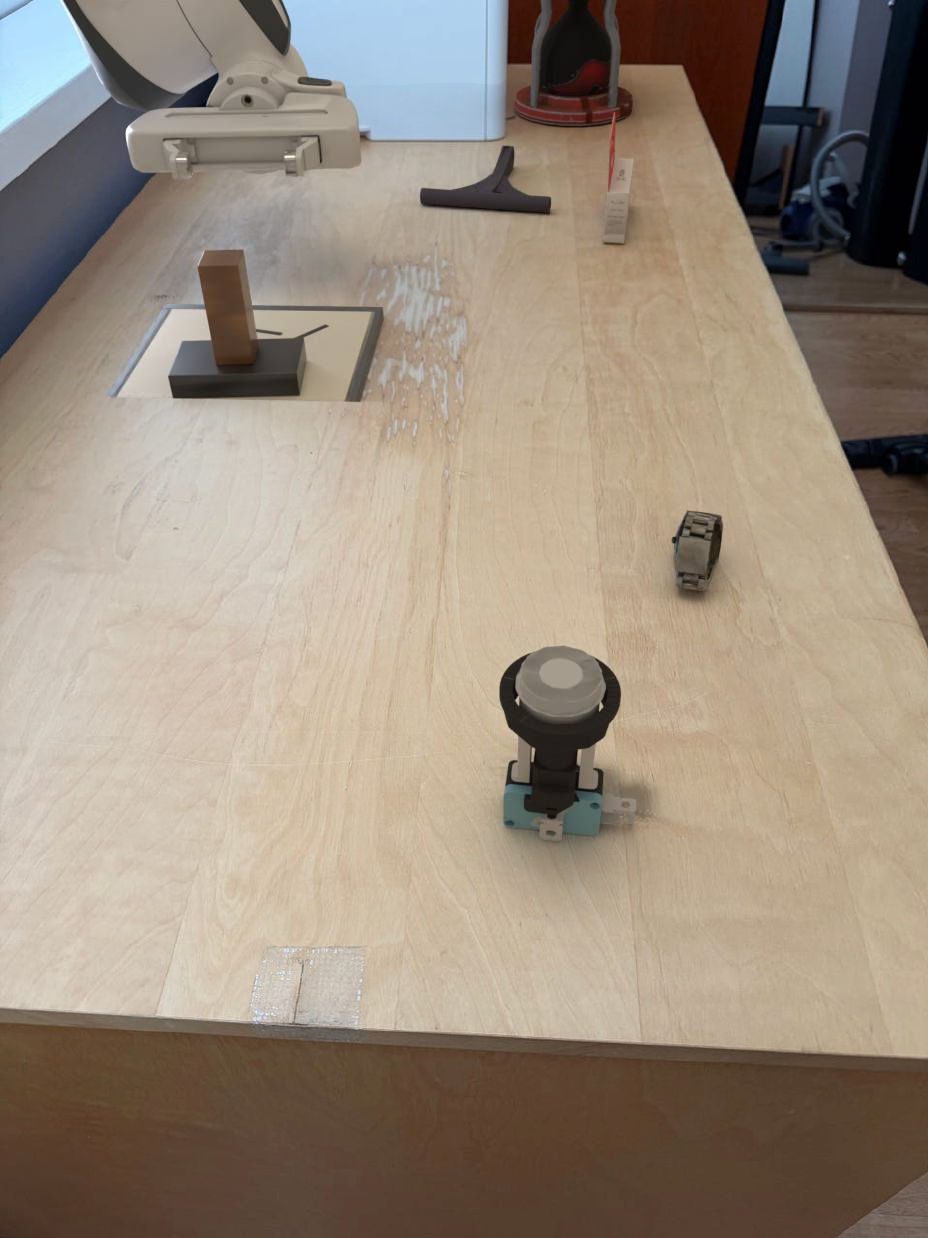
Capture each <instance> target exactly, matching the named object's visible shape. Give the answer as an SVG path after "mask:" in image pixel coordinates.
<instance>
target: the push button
mask: <svg viewBox="0 0 928 1238" xmlns="http://www.w3.org/2000/svg"><path fill="white" fill-rule="evenodd" d="M498 693H499V694H498V697H499V704H500V706H501V708H502V710H503V713H504V714H503V715H504V717H505V722H506V724H507V727H508V729H510V731H512V732H513V733H515V734H516V735H517V759H512V760H510V761H508V765H507V771H506V778H505V784H504V792H503V815H502V816H503V817H502V820H503V822H502V823H503V825H504V826H505V827H506V828H510V829H525V830H534V831H539V836H538V837H539V838H540V839H541V840H543V841H553V842H559V841H561V840H563V834H572V835H579V836H580V835H581V836H590V837H595V836H597V835H599V834H600V827H601V825H610V826H611V825H612V823H613V824H614V823H615V824H622V825H623V824H624V825H625V824H626V825H634V824H635V813H636V812H637V799H635V798H629V797H619V796H615V795H614V794H613V793H611V794H610V793H604V792H603V790H604V776H605V775H604V770H603V769H601V768H598V767H594V766H595V755H596V746H597V743H599V742H601V740H603V739H604V738H605V737H606V735H607V732H608V729H609V726H610V724H611V723H612V721H613V720H614V719H615V718H616V716H617V715H618V712H619V710H620V706H621V701H622V689H621V684H620V681H619V680H618V677H617V675H616V674H615V673H614V671H613V670H612V669H611V668H610V667H609V666H608V664H606V663H604V662H603V661H601V660H600V659H599V658H597V657H595V656H593V655H591V654H589V653H587V652H586V651H584V650H583V649H581V648H580V649H579V648H577V647H576V648H575V647H572V646H568V645H553V646H551V645H550V646H545V647H542V648H540V649H537V650H535V651H531V652H529V653H527V654H524V655H522V656H521V657H518V658H517V659H516V660H514V661H513V662H512V663H511V664H510V665H508V667H507V668H506V669H505V671H504V672H503V673H502V676H501V678H500V682H499V687H498ZM517 699H518V703H517V701H516V700H517ZM600 705H602V707H601V709H600ZM533 749H534V754H533ZM579 750H581V752H580V764H578V757H579V756H578V755H579V754H578V753H579ZM532 754H533V761H532ZM624 803H627V804H629V806H628V807H624V806H623V804H624ZM621 815H626V816H627V818H626V819H623V818H621ZM547 832H552V833H555V834H553V835H552V834H548V833H547Z"/></svg>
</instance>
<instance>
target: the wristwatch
mask: <svg viewBox="0 0 928 1238" xmlns="http://www.w3.org/2000/svg"><path fill="white" fill-rule="evenodd" d="M722 519H723V516H722V515H721V514H717V513H712V512H711V513H710V512H704V511H698V510H697V511H696V510H688V509H686V512H685V513H684V515H683V517H682V520H681V522H680V524H679V526H677V530H676V533H675V536H672V538H671V543H672V544H673V557H674V561H675V567H674V570H675V572H676V574H675V576H676V578H675V586H676V588H681V589H685V590H690V591H691V590H692V591H700V592H705V591H706V590H707V589H708V585H709V584H710V583H711V580H712V577H713V574H714V571H715V568H716V565H717V563H718V562H719V558H720V553H721V549H722V541H723V533H724V532H723V531H724V523H723V520H722Z"/></svg>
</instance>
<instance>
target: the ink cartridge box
mask: <svg viewBox="0 0 928 1238" xmlns="http://www.w3.org/2000/svg"><path fill="white" fill-rule="evenodd" d="M616 122H617V121H615V112H614V115H613V122H611V128H610V136H609V141H608V157H607V158H608V159H607V193H606V201H605V202H606V204H605V213H604V223H603V232H602V233H603V234H602V242H603V243H604V244H616V245H617V244H619V245H624V244H625V240H626V233H627V227H628V226H627V225H628V219H629V210H630V209H629V208H630V201H631V191H632V185H633V184H632V182H633V173H634V163H635V160H634V158H616Z"/></svg>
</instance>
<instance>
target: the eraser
mask: <svg viewBox="0 0 928 1238" xmlns="http://www.w3.org/2000/svg"><path fill="white" fill-rule="evenodd" d="M245 258H246V257H245V250H244V249H214V250H213V249H209V250H208V249H207V250H203V252H202V255H201V256H200V259H199V261H198V264H197V272H198V277H199V282H200V288H201V293H202V299H203V304H204V305H205V309H206V315H207V320H208V325H209V330H210V336H211V340H197V341H182V342H181V344H180V347H179V349H178V352H177V354H176V357H175V359H174V362H173V365H172V367H171V370H170V372H169V375H168V379H169V383H170V388H171V392H172V397H173V398H172V399H176V398H214V397H254V396H295V395H300V391H301V386H302V381H303V376H304V371H305V366H306V361H307V358H306V350H305V342H304V338H279V339H257V333H256V327H255V320H254V314H253V307H252V305H253V303H252V296H251V289H250V283H249V276H248V270H247V264H246V263H247V262H246V259H245Z"/></svg>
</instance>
